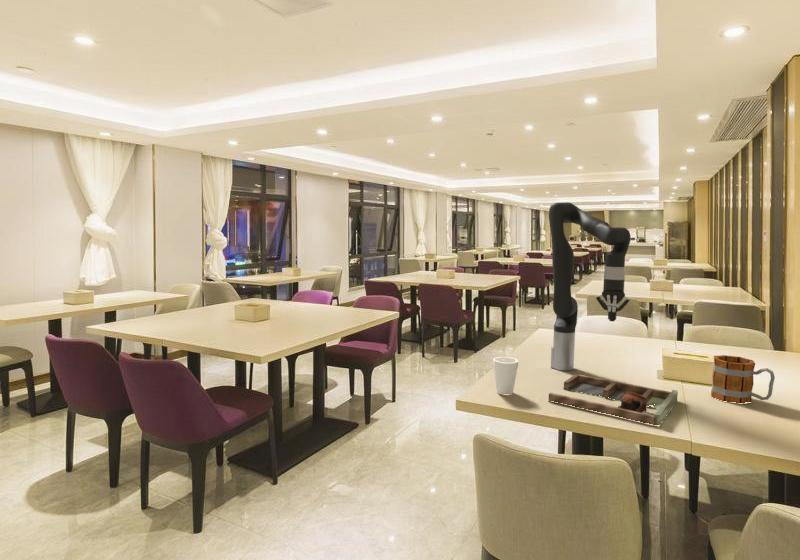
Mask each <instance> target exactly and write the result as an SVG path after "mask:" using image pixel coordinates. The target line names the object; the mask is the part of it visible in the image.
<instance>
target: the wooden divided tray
mask: <svg viewBox="0 0 800 560" xmlns="http://www.w3.org/2000/svg"><path fill="white" fill-rule="evenodd" d="M563 389H564V390H566V389H568V390H567V391H570V390H573V391H572V392H575V391H578V392H577V393H580V392H583V393H582V394H584V393H587V394H586V395H589V394H592V395H591V396H594V395H597V396H596V397H598V396H599V395H600V396H602V397H601V398H603V397H607V398H606V399H608V397H609V398H611V399H610V400H612V399H615V400H614V401H617V400H620V401H619V402H621V401H622V400H621V398H620V397H621V396H622V395H624V394H625V393H624V392H625V391H627V392H633V393H636V394H639V395H641V396H643V397H645V398H646V399H647V401H646V403H647V405H646V406H649V405H653V406H654V408H653V409H655V408H658V409H656V411H655V413H653V414H649V413H646V412H645V413H644V412H642V413H640V412H636V411H631V410H627V409H622V408H618V406H614V405H613V406H612V405H608V404H604V403H600V402H594V401H589V400H586V399H581V398H577V397H572V396H567V395H563V394H560V393H559V394H558V393H554V392H549V393H548V400H549V401H554V402H558V403H563V404H567V405H572V406H575V407H579V408H584V409H588V410H593V411H597V412H601V413H606V414H611V415H615V416H619V417H623V418H626V419H631V420H635V421H640V422H643V423H649V424H653V425H660V424H661V422H662V421H663V419H664V418H665V417H666V418H667V416H668V415H669V414H670V412H671V411H670V410H672V409H673V408H674V406H675V405H674V404H677V402H678V390H677V389H672V390H671V391H667V390H663V389H662V390H661V389H656V388H652V387H647V386H641V385H636V384H631V383H627V382H620V381H615V380H611V379H605V378H600V377H599V378H598V377H594V376H590V375H589V376H588V375H584V374H574V375H572V376H571V377H569V378H568V379H566V380H565V381H564V382H563ZM654 404H655V405H654ZM650 407H651V406H649V407H648V408H650ZM672 407H673V408H672ZM671 408H672V409H671ZM669 411H670V412H669ZM668 413H669V414H668ZM667 414H668V415H667ZM666 415H667V416H666ZM666 418H665V419H666ZM665 419H664V420H665ZM663 422H664V421H663ZM663 422H662V423H663ZM661 425H662V424H661ZM661 425H660V426H661Z"/></svg>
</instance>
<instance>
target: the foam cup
mask: <svg viewBox="0 0 800 560" xmlns="http://www.w3.org/2000/svg"><path fill="white" fill-rule="evenodd" d="M492 366H493V371H494V381H495V390H496V394H498V393H500V394H512V393H513V394H514V390H515V384H516V379H517V371H518V368H519V360H518V359H517V358H515V357H509V356H497V357H494V358H493V365H492ZM500 394H499V395H500ZM513 394H512V395H513Z"/></svg>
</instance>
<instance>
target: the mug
mask: <svg viewBox="0 0 800 560" xmlns="http://www.w3.org/2000/svg"><path fill="white" fill-rule="evenodd" d="M713 362H714V363H713V371H712V377H711V378H712V384H711V385H712V387H711V392H710V395H711V398H712V397H713V398H712V399H715V398H716V399H715V400H717V399H719V400H718V401H720V400H722V401H721V402H723V401H727V402H736V403H745V402H753V401H752V397H753V398H756V399H758V400H761V401H766V400H769V399H770V398H771V397H772V395H773V391H774V390H773V389H774V383H775V378H776V377H775V373H774V371H773V370H771V369H769V368H760V369H758V370H756V371H755V365H756V362H755V361H754V360H753V359H749V358H745V357H741V356H735V355H726V354H721V355H713ZM763 372H767V373H768V374H770V379H769V384H768V391H767V394H766V396H761V395H759V394H757V393H754V392H753V387H754V375H756V376H758V375H760V374H762V373H763ZM727 402H726V403H727Z"/></svg>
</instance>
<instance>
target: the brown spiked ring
mask: <svg viewBox="0 0 800 560" xmlns="http://www.w3.org/2000/svg"><path fill="white" fill-rule="evenodd" d="M624 393H625V394H624V395H622V396H621V397H620V398H621V400H622V401H620V402H621V403H620V405H617V407H618V408H622V409H627V410H631V411H636V412H640V413H644V412H643V411H645V413H646V412H647V411H648V410H647V408H648V407H646V405H647V403H646V401H647V399H646V398H645V397H643V396H641V395H639V394H636V393H633V392H627V391H625V392H624Z"/></svg>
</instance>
